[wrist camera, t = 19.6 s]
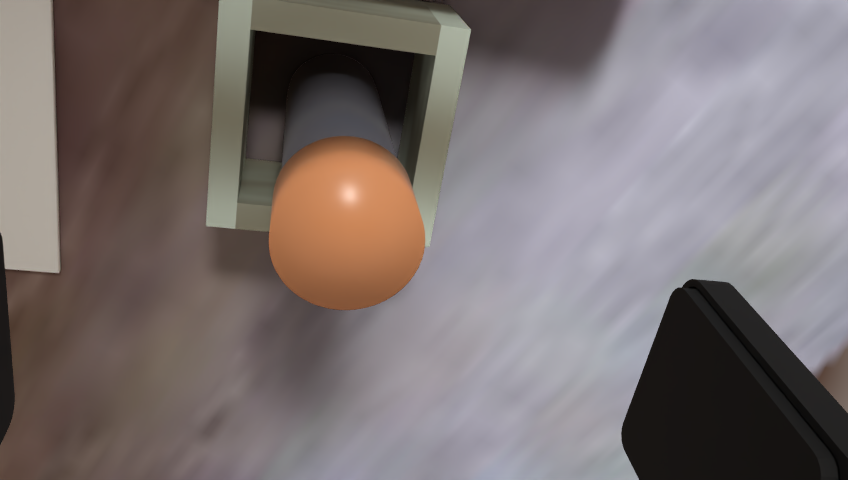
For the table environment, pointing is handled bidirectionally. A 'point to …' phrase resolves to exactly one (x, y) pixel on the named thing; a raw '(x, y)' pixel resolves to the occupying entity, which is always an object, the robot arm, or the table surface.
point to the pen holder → (348, 23)
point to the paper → (28, 137)
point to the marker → (342, 192)
